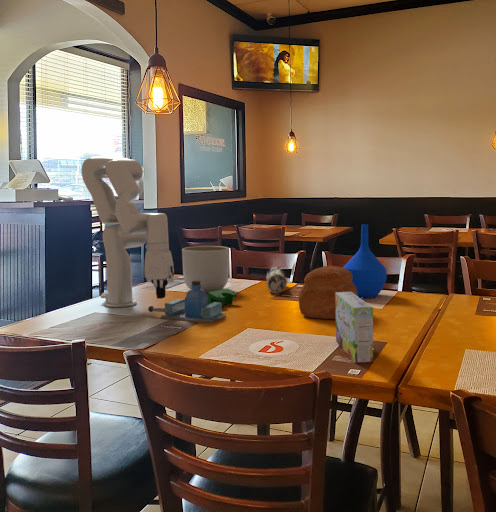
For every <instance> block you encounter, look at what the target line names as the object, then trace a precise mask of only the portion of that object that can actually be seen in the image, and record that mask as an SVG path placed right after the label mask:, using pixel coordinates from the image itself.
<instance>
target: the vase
mask: <svg viewBox="0 0 496 512" xmlns="http://www.w3.org/2000/svg"><path fill="white" fill-rule="evenodd" d="M360 230H361V231H360V232H361V233H360V237H361V238H360V247H359V249H358V251H357V252H356V253H355V254H354V255H353V256H352V257H351V258H350V259H349V260H348V262H347V263H346V264H344V265H343V267H344V268H346V269H347V270H349V271H350V272H351V274H352V276H353V279H352V282H353V284H354V285H355V287H356V290H357V296H358V297H371V298H375V297H377V296H378V295H379V294H380V293H381V292H382V290H383V288H384V287H385V284H386V281H387V278H388V277H387V276H388V273H387V269H386V267H385V265H384V264H383V263H382V262H381V260H379V259H378V257H376V256H375V254H374V253H373V252H372V251H371V248H370V247H369V224H363V223H362V224H361V229H360Z"/></svg>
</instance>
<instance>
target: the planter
mask: <svg viewBox="0 0 496 512" xmlns="http://www.w3.org/2000/svg"><path fill="white" fill-rule="evenodd" d="M181 254H182V255H181V258H182V260H181V261H182V274H183V280H184V284H185V286H186V287H187V288H188V289H189V291H191V290H192V288H191V285H192V281H196V280H198V281H201V282H200V284H201V288H200V290H204V291H205V292H206V294H208V292H213V291H217V290H222V289H225V288H224V287H226V286H227V284H228V282H229V274H230V272H229V271H230V248H229V247H227V246H222V245H198V246H195V245H194V246H187V247H184V248H182V249H181Z"/></svg>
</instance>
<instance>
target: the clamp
mask: <svg viewBox="0 0 496 512" xmlns="http://www.w3.org/2000/svg"><path fill="white" fill-rule="evenodd" d="M207 295H208V304H211V303H213V302H219V303H222V309H223V308H224V306H225V305H229V306H232V305H233V301H234V298H237V296H238V292H237V291H234V290H233V289H229V288H223V289H221V290H217V291H213V292H208V293H207Z"/></svg>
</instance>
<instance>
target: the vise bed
mask: <svg viewBox="0 0 496 512" xmlns="http://www.w3.org/2000/svg"><path fill="white" fill-rule="evenodd" d="M222 310H223V308H222V303H219V302H213V303H211V304H208V305H206V306H204V307H202V317H193V316H185V310H184V311H182V312H179V313H177V314H174V315H165V313H164V314H161V315H160V318H161V319H167V320H175V321H176V320H177V321H189V322H196V323H197V322H198V323H208V324H209V323H210V324H213V323H214V322H216V321H218V320H219V321H220V320H221V319H223V318H225V317H226V313H225V312H223V311H222Z"/></svg>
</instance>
